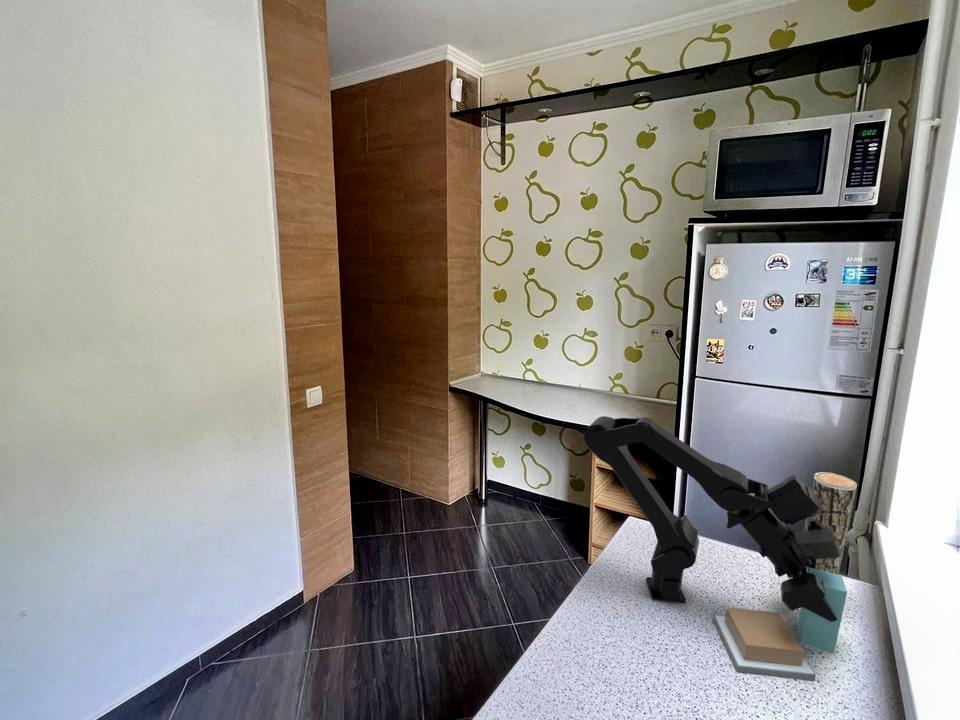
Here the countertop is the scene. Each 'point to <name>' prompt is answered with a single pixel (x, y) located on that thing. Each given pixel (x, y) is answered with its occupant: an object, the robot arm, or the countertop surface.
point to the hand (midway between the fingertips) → (831, 608)
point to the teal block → (816, 627)
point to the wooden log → (833, 512)
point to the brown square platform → (762, 644)
